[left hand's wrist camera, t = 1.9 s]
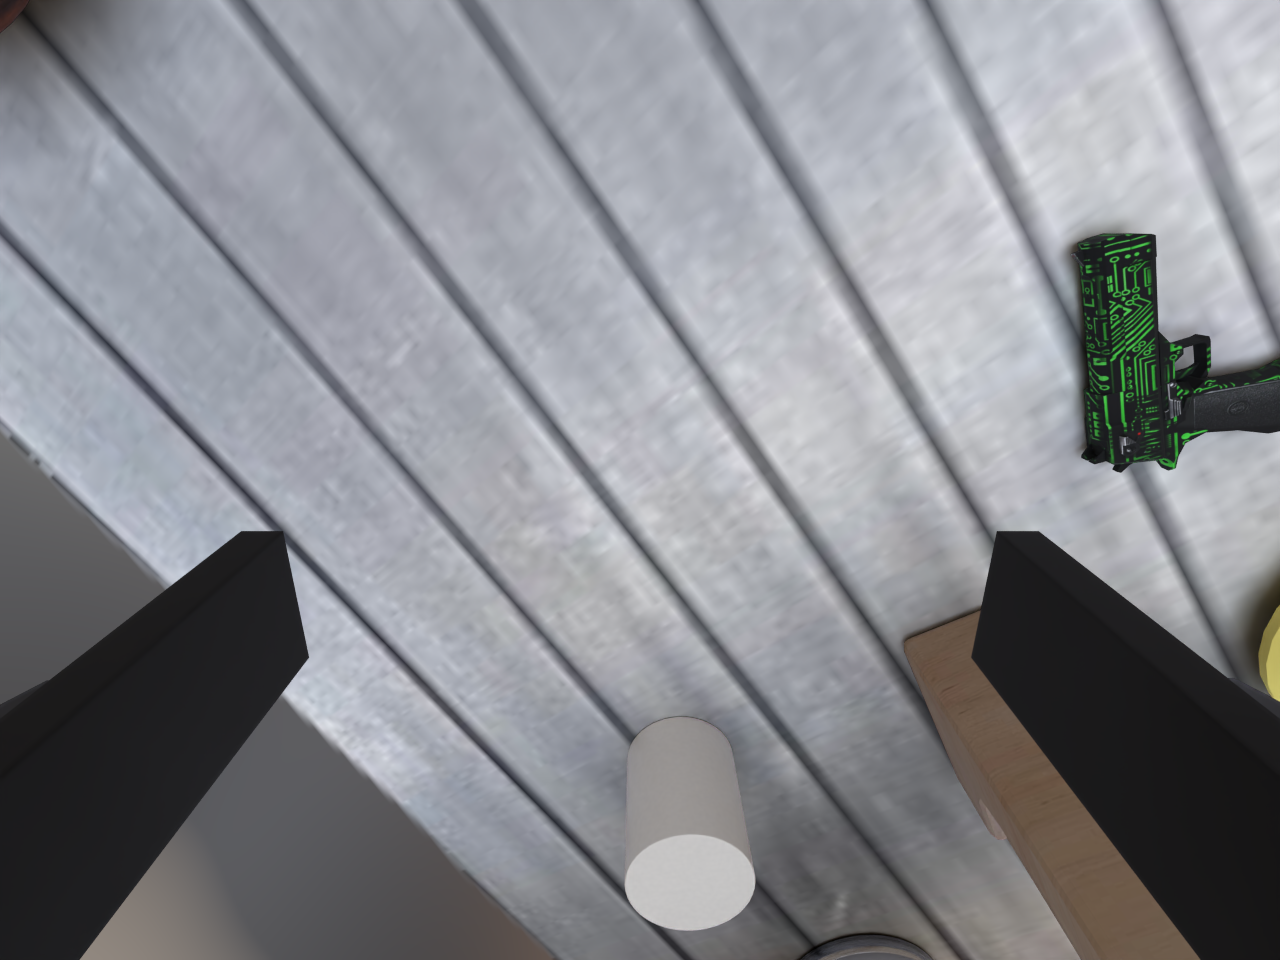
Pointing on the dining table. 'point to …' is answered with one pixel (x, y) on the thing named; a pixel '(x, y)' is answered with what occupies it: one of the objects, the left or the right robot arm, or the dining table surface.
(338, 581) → the dining table surface
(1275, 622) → the yellow pot lid
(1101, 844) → the decorative block
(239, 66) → the dining table surface
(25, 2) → the cat face balloon
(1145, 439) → the handgun
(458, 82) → the dining table surface
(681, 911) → the canister
